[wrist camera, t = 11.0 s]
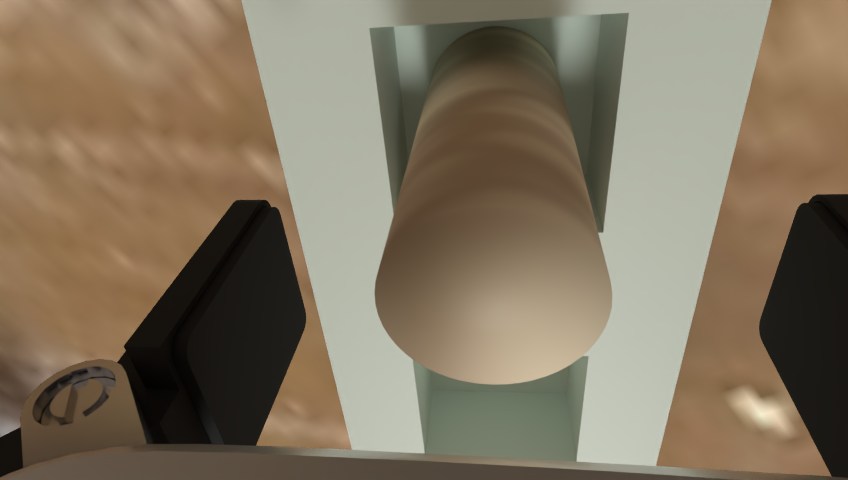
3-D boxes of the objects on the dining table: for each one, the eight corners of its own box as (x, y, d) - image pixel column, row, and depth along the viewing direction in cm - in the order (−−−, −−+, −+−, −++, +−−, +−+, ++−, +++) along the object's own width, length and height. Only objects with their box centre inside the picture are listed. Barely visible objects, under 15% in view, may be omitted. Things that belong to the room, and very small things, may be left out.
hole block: (727, -138, 15) (804, -131, 11) (625, 413, 27) (646, 502, 24) (282, -98, 16) (221, -81, 13) (378, 406, 29) (362, 489, 25)
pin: (563, 22, 16) (626, 203, 8) (555, 148, 19) (599, 387, 11) (425, 29, 17) (358, 206, 9) (434, 151, 19) (388, 381, 11)
